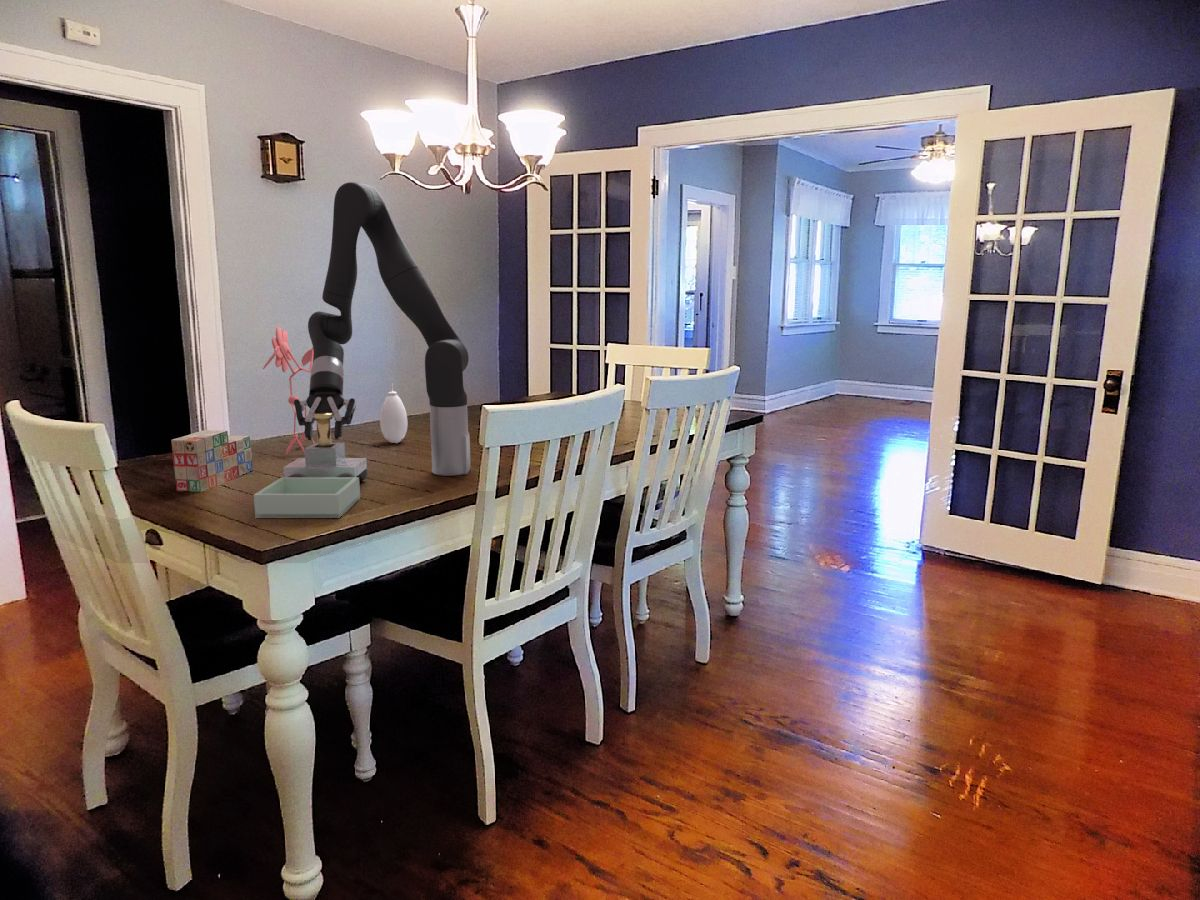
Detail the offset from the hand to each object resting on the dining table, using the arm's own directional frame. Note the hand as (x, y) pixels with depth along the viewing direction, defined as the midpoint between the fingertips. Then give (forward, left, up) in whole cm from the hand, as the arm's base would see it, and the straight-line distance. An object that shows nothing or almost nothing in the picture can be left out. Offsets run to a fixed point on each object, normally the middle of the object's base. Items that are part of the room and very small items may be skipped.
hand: (323, 437), depth 185 cm
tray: (-2, +16, -12) cm, 20 cm away
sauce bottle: (-3, -56, -12) cm, 57 cm away
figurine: (+24, -43, -12) cm, 51 cm away
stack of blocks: (+29, -9, -13) cm, 33 cm away
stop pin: (0, -2, -6) cm, 7 cm away
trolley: (0, -2, -12) cm, 12 cm away
